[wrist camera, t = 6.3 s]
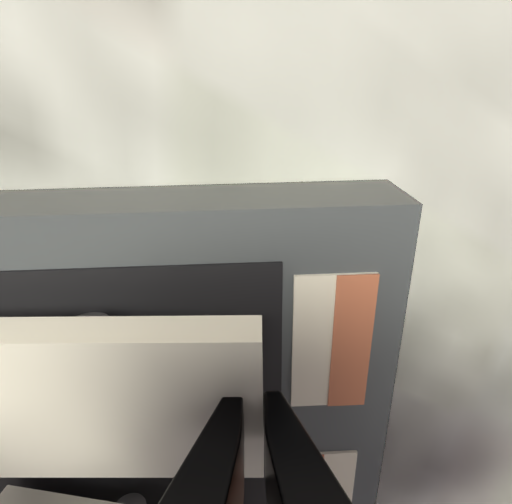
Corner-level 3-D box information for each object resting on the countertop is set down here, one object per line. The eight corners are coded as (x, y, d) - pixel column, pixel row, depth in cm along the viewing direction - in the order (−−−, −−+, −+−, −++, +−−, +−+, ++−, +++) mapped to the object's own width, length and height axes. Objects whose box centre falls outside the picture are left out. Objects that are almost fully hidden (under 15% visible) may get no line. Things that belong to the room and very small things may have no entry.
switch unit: (340, 583, 20) (353, 651, 18) (63, 599, 20) (39, 671, 18) (387, 179, 12) (425, 205, 10) (-92, 192, 12) (-179, 224, 9)
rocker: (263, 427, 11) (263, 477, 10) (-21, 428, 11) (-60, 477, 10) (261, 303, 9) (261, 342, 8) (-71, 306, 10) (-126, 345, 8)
